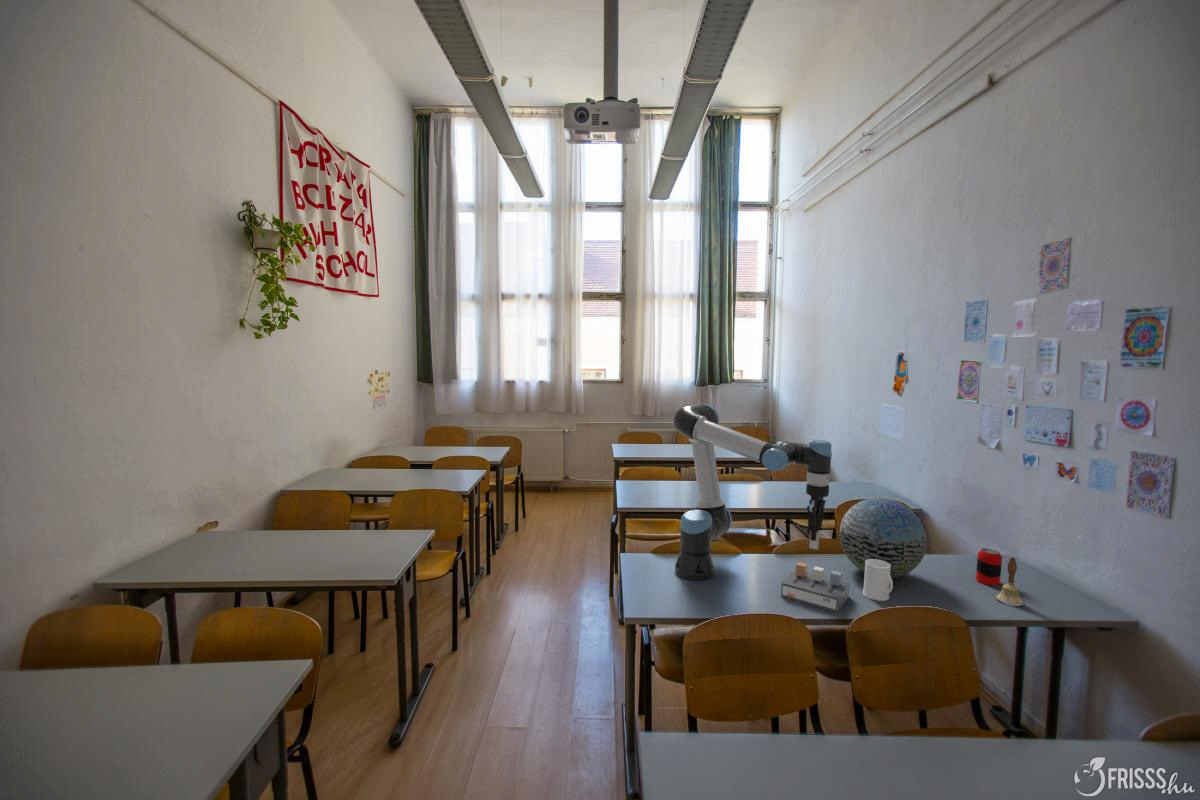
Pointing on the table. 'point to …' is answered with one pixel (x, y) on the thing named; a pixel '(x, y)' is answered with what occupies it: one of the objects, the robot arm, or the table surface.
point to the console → (815, 591)
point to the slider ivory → (818, 574)
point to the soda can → (989, 567)
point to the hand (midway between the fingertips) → (813, 548)
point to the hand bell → (1010, 586)
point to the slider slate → (836, 578)
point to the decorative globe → (883, 535)
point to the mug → (877, 580)
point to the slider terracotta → (801, 569)
